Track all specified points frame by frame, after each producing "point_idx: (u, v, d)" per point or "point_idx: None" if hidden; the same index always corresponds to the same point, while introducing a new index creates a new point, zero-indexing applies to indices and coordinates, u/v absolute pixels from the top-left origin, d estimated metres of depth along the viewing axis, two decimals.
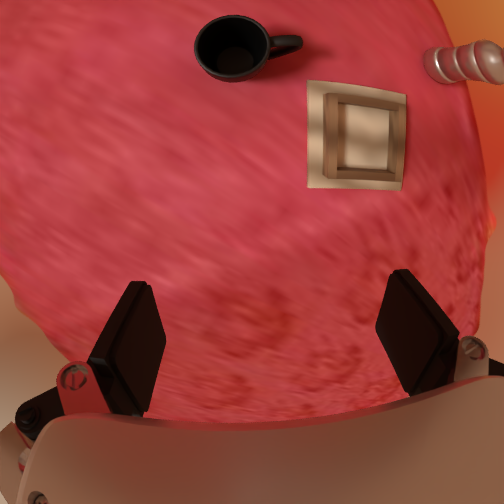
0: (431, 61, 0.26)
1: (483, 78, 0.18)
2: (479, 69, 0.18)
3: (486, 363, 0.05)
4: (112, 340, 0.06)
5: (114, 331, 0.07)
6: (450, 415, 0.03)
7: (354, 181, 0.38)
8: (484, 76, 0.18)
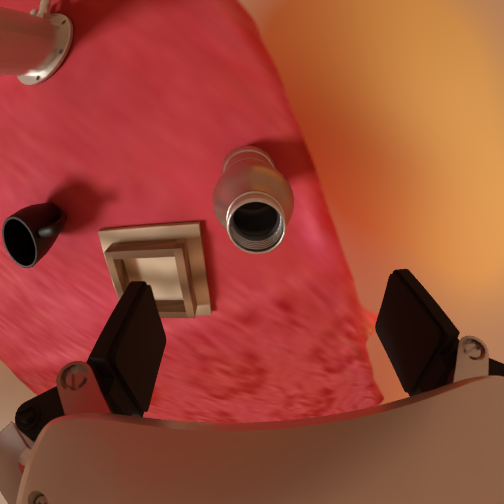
0: None
1: None
2: None
3: (486, 364, 0.05)
4: (112, 340, 0.06)
5: (114, 331, 0.07)
6: (450, 415, 0.03)
7: None
8: None
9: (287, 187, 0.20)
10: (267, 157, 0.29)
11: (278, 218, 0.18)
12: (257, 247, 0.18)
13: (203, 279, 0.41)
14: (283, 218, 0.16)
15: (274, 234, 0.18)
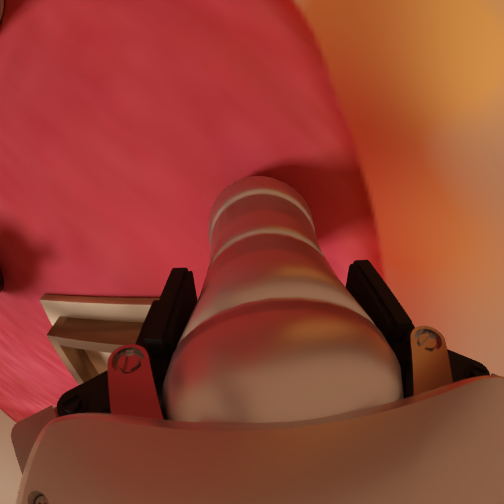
0: None
1: None
2: None
3: (444, 352, 0.06)
4: (167, 321, 0.07)
5: (166, 313, 0.08)
6: (450, 415, 0.03)
7: None
8: None
9: None
10: (302, 206, 0.14)
11: None
12: None
13: None
14: None
15: None
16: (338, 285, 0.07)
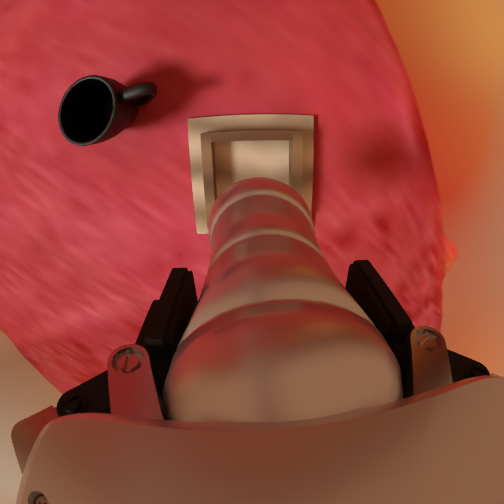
0: None
1: None
2: None
3: (444, 352, 0.06)
4: (167, 321, 0.07)
5: (166, 313, 0.08)
6: (450, 415, 0.03)
7: None
8: None
9: None
10: (301, 207, 0.14)
11: None
12: None
13: (310, 181, 0.35)
14: None
15: None
16: (338, 286, 0.07)
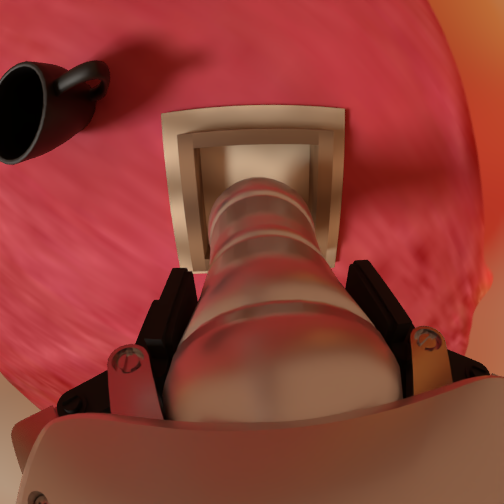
0: None
1: None
2: None
3: (444, 352, 0.06)
4: (167, 321, 0.07)
5: (166, 313, 0.08)
6: (450, 415, 0.03)
7: None
8: None
9: None
10: (301, 207, 0.14)
11: None
12: None
13: (337, 202, 0.25)
14: None
15: None
16: (338, 287, 0.07)
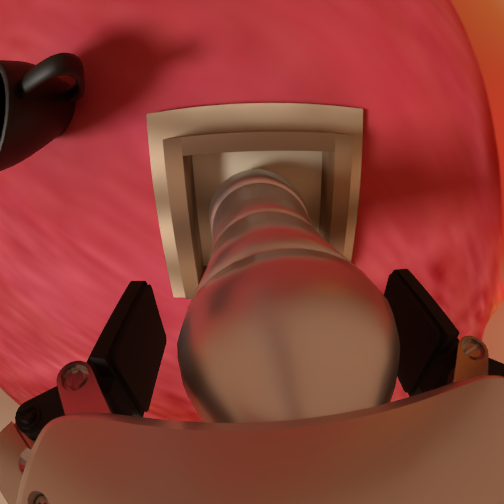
0: None
1: None
2: None
3: (485, 364, 0.05)
4: (113, 340, 0.06)
5: (114, 331, 0.07)
6: (450, 415, 0.03)
7: None
8: None
9: (398, 340, 0.06)
10: (296, 195, 0.16)
11: None
12: None
13: (352, 218, 0.21)
14: None
15: None
16: (333, 248, 0.08)
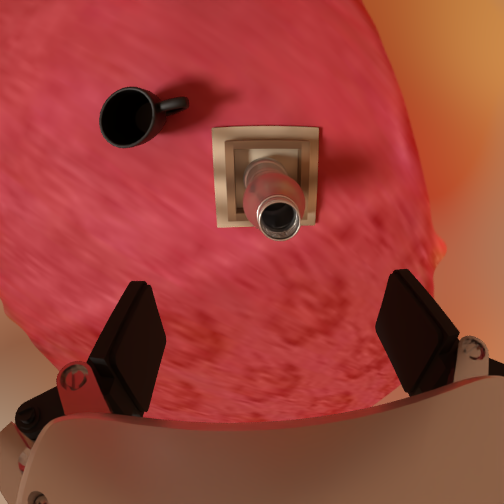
0: (244, 183, 0.37)
1: None
2: None
3: (485, 364, 0.05)
4: (112, 340, 0.06)
5: (114, 331, 0.07)
6: (450, 415, 0.03)
7: None
8: None
9: (301, 193, 0.26)
10: (282, 168, 0.36)
11: (294, 215, 0.24)
12: (279, 236, 0.24)
13: (315, 183, 0.41)
14: (299, 215, 0.22)
15: (291, 227, 0.24)
16: None
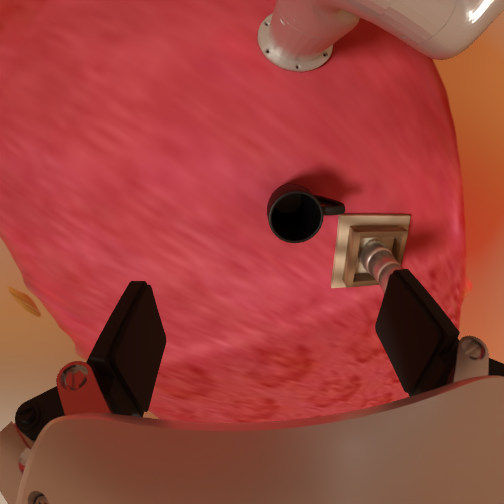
0: (364, 262, 0.48)
1: None
2: None
3: (485, 364, 0.05)
4: (112, 340, 0.06)
5: (114, 331, 0.07)
6: (450, 415, 0.03)
7: None
8: None
9: None
10: (391, 252, 0.47)
11: None
12: None
13: None
14: None
15: None
16: None
